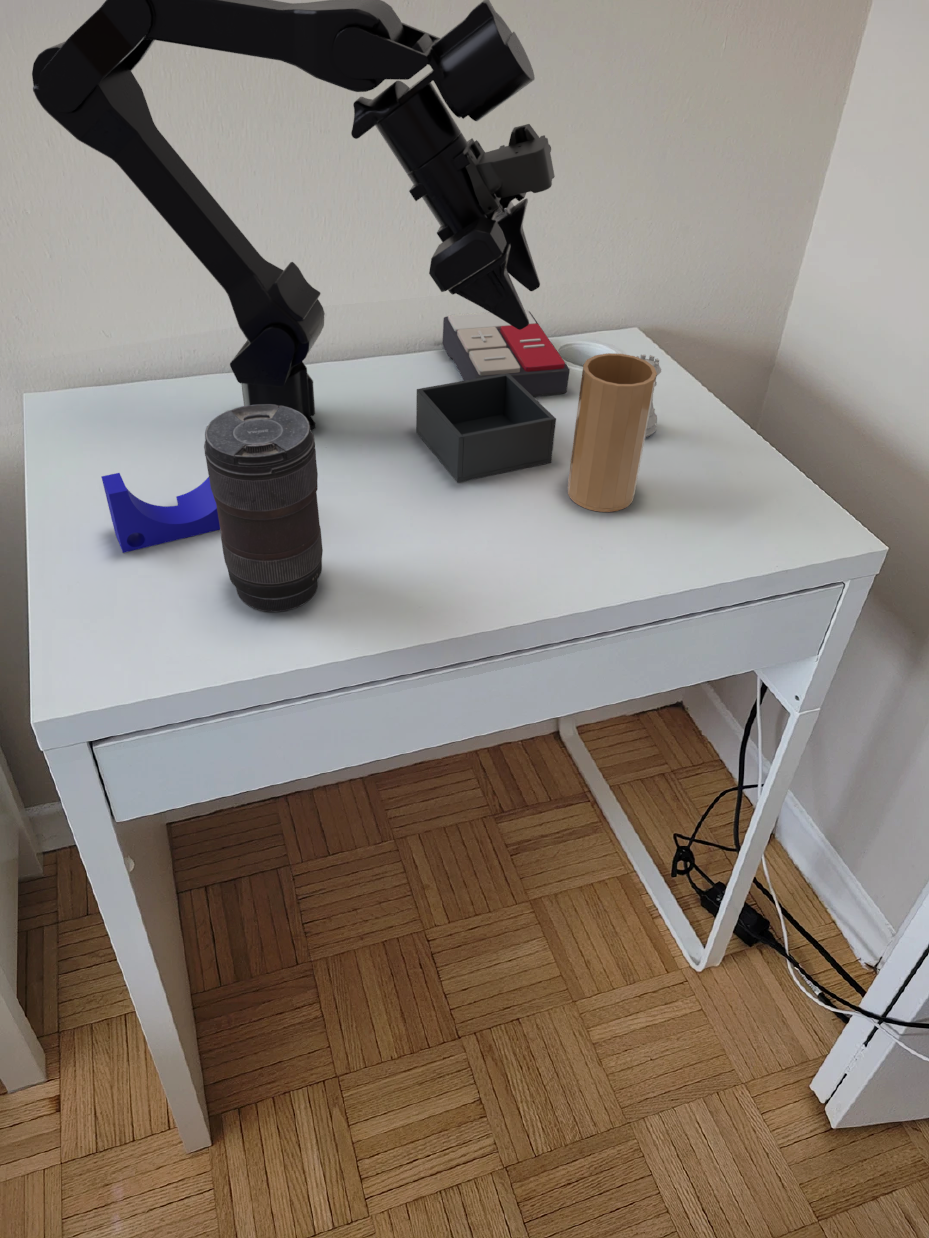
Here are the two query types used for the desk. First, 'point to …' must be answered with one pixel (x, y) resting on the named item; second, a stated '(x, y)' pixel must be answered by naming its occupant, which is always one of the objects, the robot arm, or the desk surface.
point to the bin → (484, 426)
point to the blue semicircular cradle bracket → (158, 515)
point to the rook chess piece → (652, 416)
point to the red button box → (505, 352)
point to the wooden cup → (610, 431)
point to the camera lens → (266, 503)
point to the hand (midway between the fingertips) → (530, 307)
